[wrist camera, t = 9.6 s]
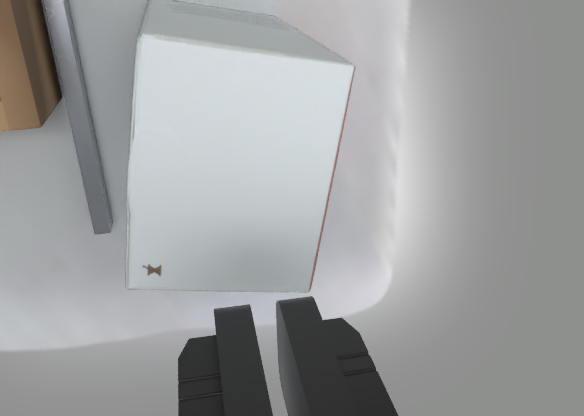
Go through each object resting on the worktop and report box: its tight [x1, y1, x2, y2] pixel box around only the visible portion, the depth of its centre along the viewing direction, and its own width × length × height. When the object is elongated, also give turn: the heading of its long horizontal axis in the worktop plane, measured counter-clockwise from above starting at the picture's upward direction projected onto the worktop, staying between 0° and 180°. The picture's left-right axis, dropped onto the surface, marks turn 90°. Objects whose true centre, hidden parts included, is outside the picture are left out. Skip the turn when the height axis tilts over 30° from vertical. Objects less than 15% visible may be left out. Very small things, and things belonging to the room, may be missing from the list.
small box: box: [125, 0, 355, 292], centre depth 22 cm, size 8×6×13 cm
